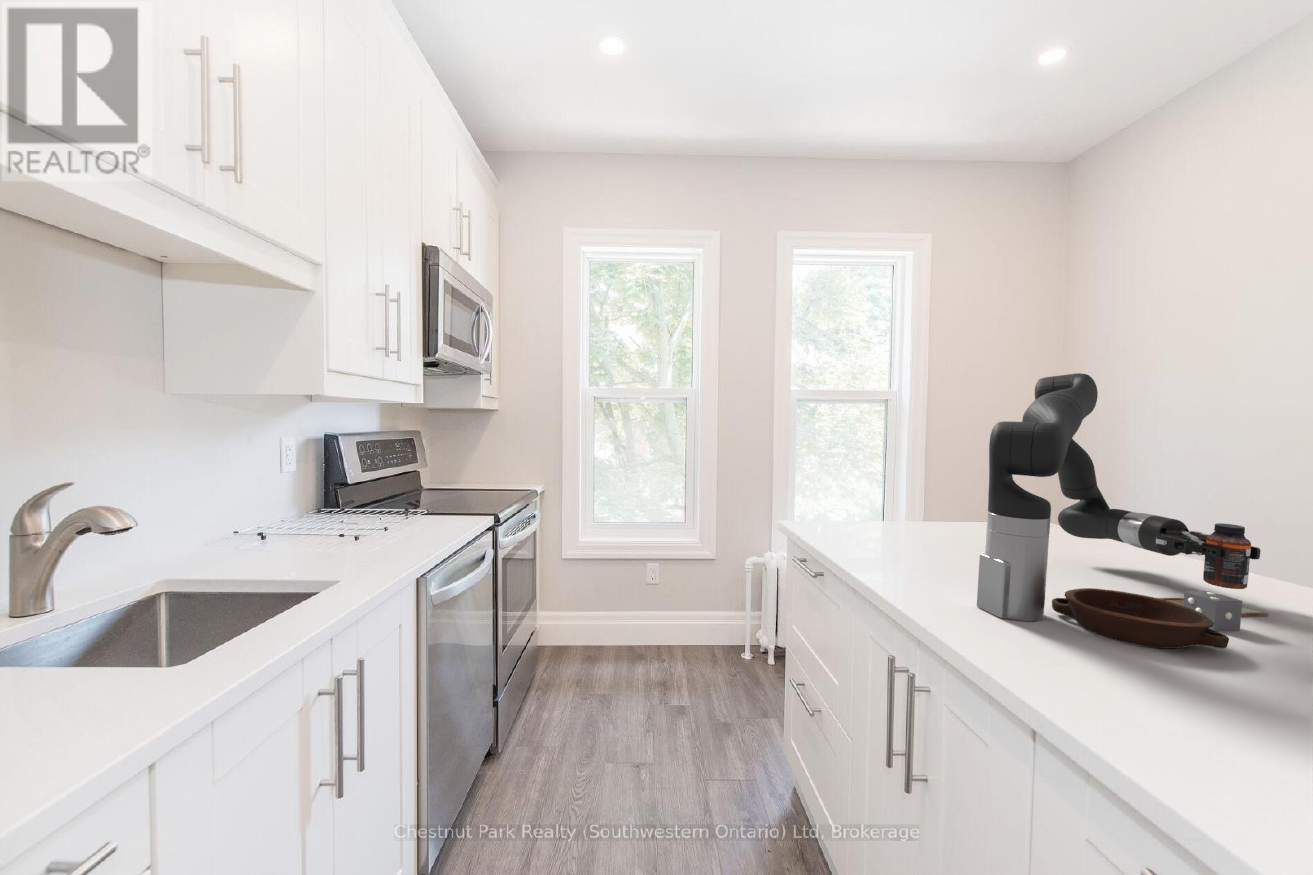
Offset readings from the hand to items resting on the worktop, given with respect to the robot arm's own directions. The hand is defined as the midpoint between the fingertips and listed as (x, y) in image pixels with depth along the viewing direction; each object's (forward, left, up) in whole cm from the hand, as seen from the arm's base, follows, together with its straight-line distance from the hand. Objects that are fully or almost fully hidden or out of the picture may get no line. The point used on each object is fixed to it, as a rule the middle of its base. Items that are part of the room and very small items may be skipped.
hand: (1242, 554), depth 105 cm
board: (-7, +2, -11) cm, 13 cm away
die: (-13, -6, -11) cm, 18 cm away
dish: (-31, -8, -11) cm, 34 cm away
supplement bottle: (0, +3, -7) cm, 7 cm away
